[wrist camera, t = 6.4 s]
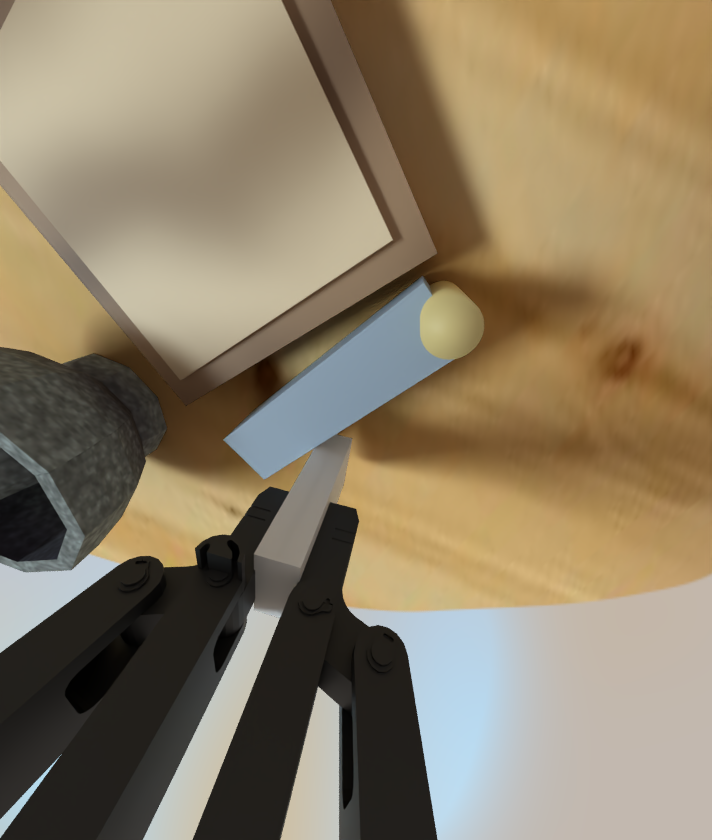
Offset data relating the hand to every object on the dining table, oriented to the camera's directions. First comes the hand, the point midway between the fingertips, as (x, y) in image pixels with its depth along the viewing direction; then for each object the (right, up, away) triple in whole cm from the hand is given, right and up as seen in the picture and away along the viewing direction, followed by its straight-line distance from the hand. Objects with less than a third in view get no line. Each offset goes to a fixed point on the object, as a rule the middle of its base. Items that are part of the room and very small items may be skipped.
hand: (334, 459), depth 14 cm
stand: (-4, +10, -3) cm, 12 cm away
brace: (+1, +4, -1) cm, 4 cm away
